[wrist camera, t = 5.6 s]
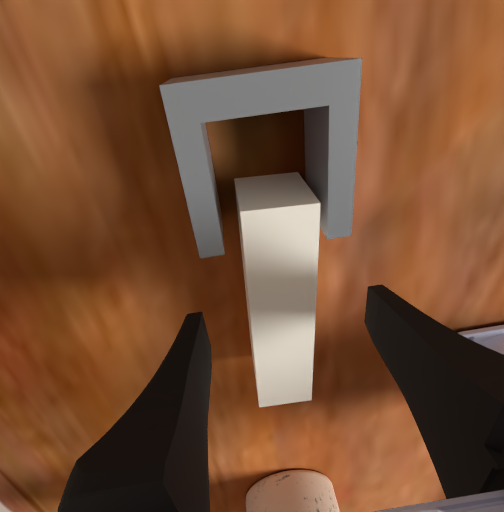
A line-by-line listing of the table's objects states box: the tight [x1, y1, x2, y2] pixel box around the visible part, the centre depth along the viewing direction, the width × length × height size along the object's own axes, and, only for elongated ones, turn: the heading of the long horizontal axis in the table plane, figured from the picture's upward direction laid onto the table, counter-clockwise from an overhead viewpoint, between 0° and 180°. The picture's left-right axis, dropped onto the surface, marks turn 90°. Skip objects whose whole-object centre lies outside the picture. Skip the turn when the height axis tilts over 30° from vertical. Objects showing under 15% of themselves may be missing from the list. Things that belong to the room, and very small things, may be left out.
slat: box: [234, 172, 321, 407], centre depth 17 cm, size 3×12×4 cm, turn 4°
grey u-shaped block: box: [159, 57, 362, 258], centre depth 13 cm, size 6×6×4 cm
